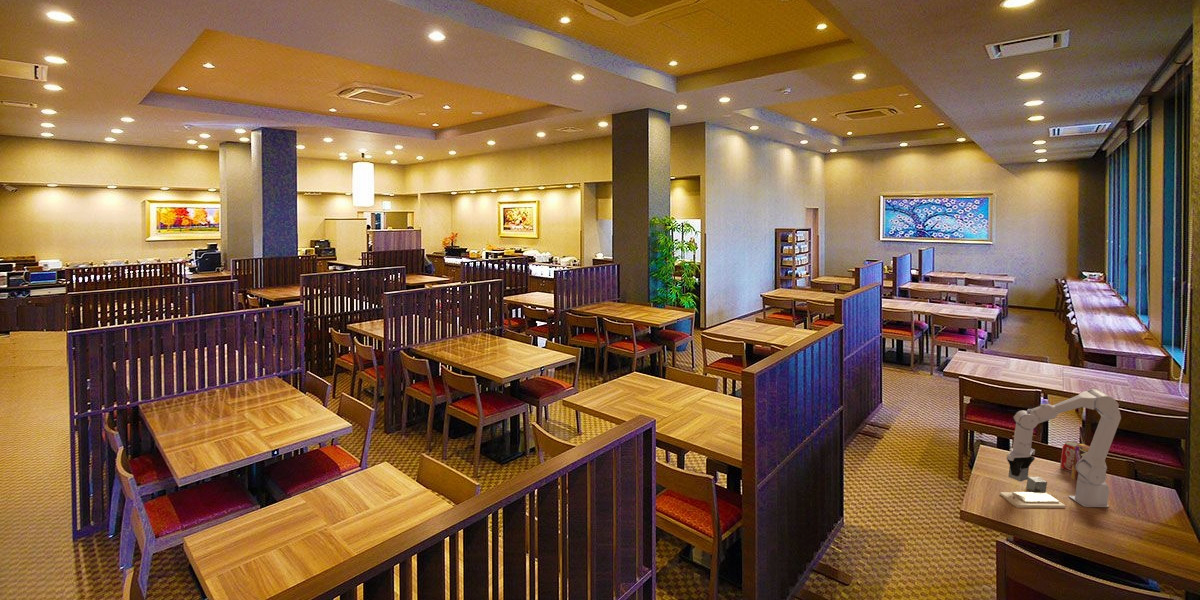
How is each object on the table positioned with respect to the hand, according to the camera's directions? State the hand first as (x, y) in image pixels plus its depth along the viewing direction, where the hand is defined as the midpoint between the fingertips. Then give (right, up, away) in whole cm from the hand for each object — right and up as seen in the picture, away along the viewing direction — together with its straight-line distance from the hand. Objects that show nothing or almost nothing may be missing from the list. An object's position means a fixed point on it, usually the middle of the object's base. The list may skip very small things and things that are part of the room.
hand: (1018, 474), depth 233 cm
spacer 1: (0, -2, 0) cm, 2 cm away
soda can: (+38, -5, +22) cm, 44 cm away
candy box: (+35, -7, +10) cm, 37 cm away
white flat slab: (+4, -8, -4) cm, 10 cm away
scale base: (+2, -9, -4) cm, 10 cm away
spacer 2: (+10, -8, +4) cm, 13 cm away
